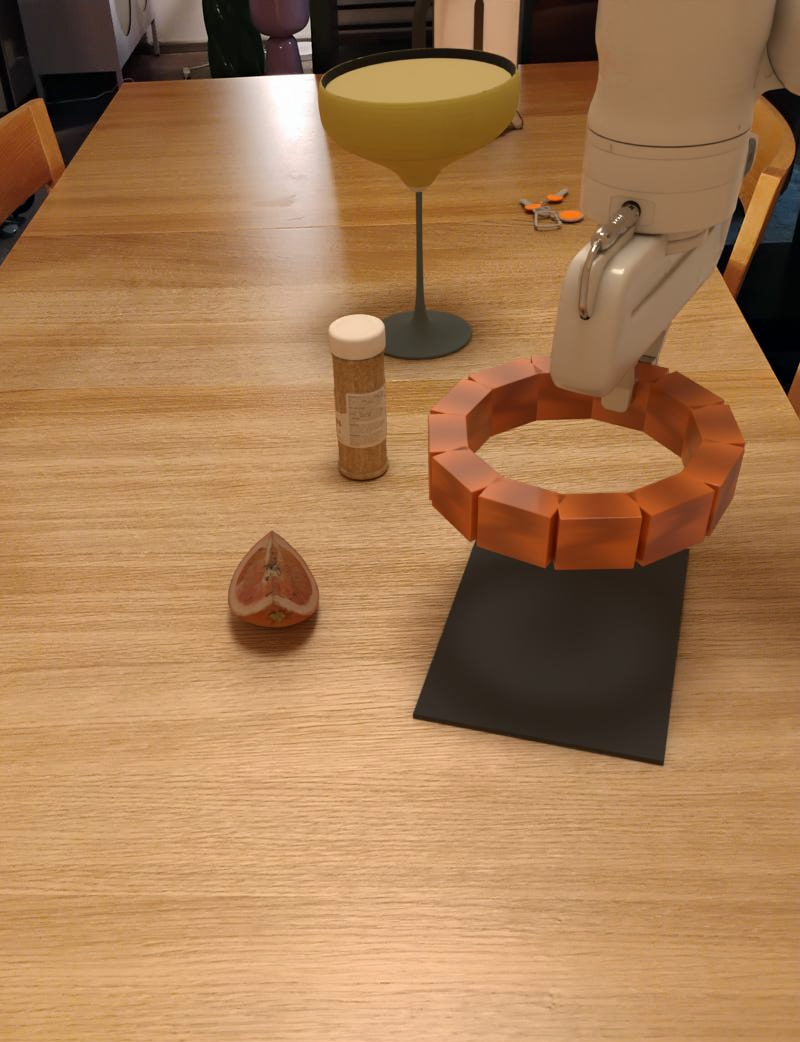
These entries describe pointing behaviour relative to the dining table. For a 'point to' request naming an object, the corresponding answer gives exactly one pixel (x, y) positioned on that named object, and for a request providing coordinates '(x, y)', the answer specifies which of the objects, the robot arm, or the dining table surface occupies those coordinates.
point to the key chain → (540, 210)
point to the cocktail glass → (419, 145)
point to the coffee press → (471, 27)
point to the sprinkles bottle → (360, 394)
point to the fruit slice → (273, 585)
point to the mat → (561, 654)
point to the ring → (588, 518)
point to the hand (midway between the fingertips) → (628, 392)
